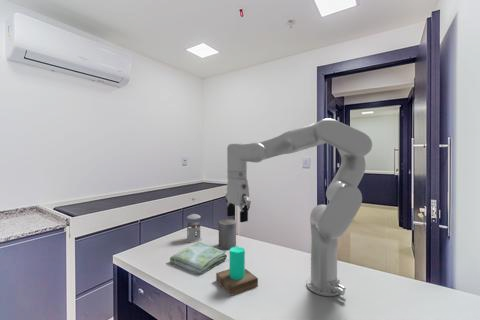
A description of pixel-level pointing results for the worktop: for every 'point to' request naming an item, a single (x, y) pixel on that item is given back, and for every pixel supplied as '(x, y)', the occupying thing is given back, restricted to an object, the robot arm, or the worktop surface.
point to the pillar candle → (227, 233)
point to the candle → (237, 263)
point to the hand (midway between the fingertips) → (237, 218)
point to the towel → (199, 257)
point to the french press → (193, 229)
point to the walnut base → (236, 282)
